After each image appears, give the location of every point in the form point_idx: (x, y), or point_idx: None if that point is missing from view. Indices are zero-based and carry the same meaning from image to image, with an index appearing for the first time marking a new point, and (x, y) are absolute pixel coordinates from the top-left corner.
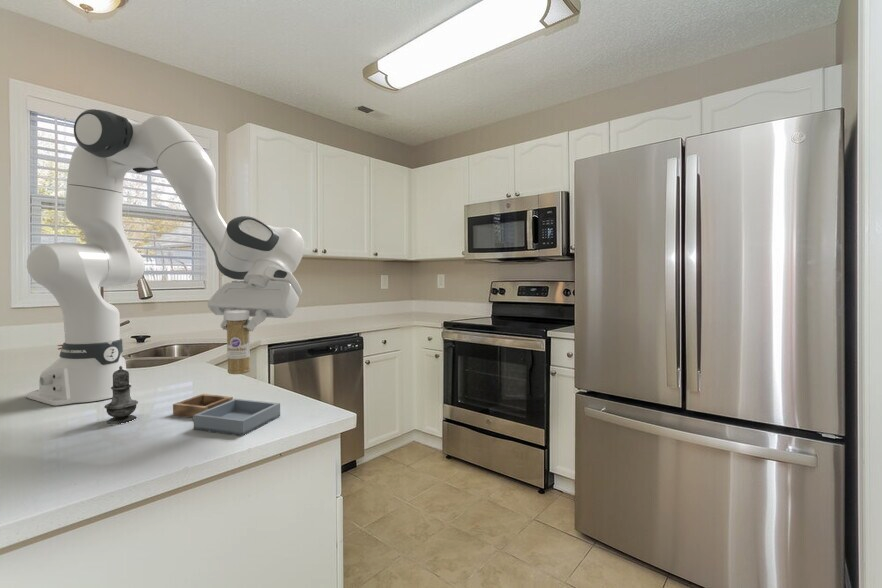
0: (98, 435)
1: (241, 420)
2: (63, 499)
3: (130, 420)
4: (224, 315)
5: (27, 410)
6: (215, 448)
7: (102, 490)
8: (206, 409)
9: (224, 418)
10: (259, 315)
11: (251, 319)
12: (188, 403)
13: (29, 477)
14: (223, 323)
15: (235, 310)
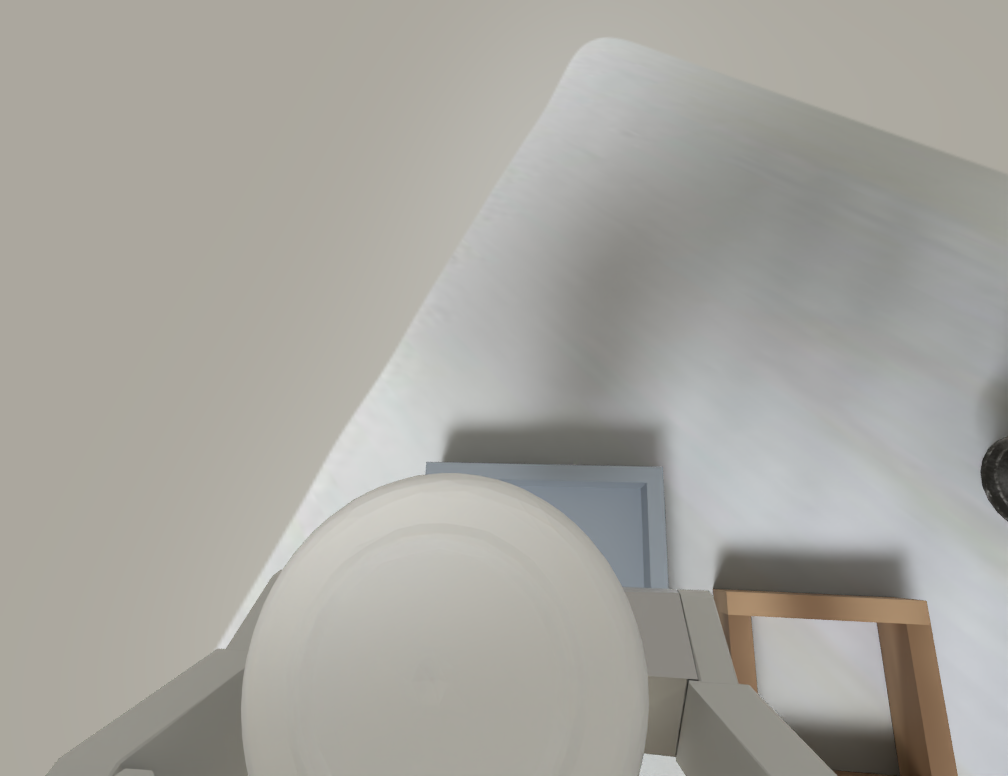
0: (927, 342)
1: (437, 467)
2: (580, 92)
3: (990, 482)
4: (794, 753)
5: None
6: (460, 366)
7: (540, 134)
8: (723, 602)
9: (513, 467)
10: (90, 752)
11: (235, 661)
12: (905, 676)
13: (765, 120)
14: (675, 606)
15: (508, 726)
